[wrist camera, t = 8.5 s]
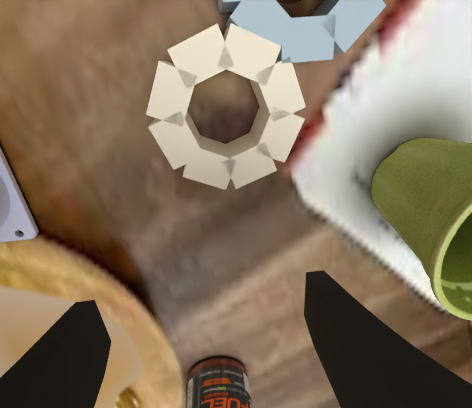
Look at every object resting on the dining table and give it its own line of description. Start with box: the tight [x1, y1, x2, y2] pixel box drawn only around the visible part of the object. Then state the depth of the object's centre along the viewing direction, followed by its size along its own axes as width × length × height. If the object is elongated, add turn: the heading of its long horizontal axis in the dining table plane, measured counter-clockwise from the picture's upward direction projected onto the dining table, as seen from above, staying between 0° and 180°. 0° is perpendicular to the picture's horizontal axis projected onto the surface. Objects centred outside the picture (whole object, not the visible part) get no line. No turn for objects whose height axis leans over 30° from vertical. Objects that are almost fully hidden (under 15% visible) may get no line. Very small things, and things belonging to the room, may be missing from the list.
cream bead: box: [146, 23, 306, 190], centre depth 16 cm, size 8×8×3 cm
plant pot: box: [371, 138, 472, 320], centre depth 17 cm, size 9×9×9 cm
